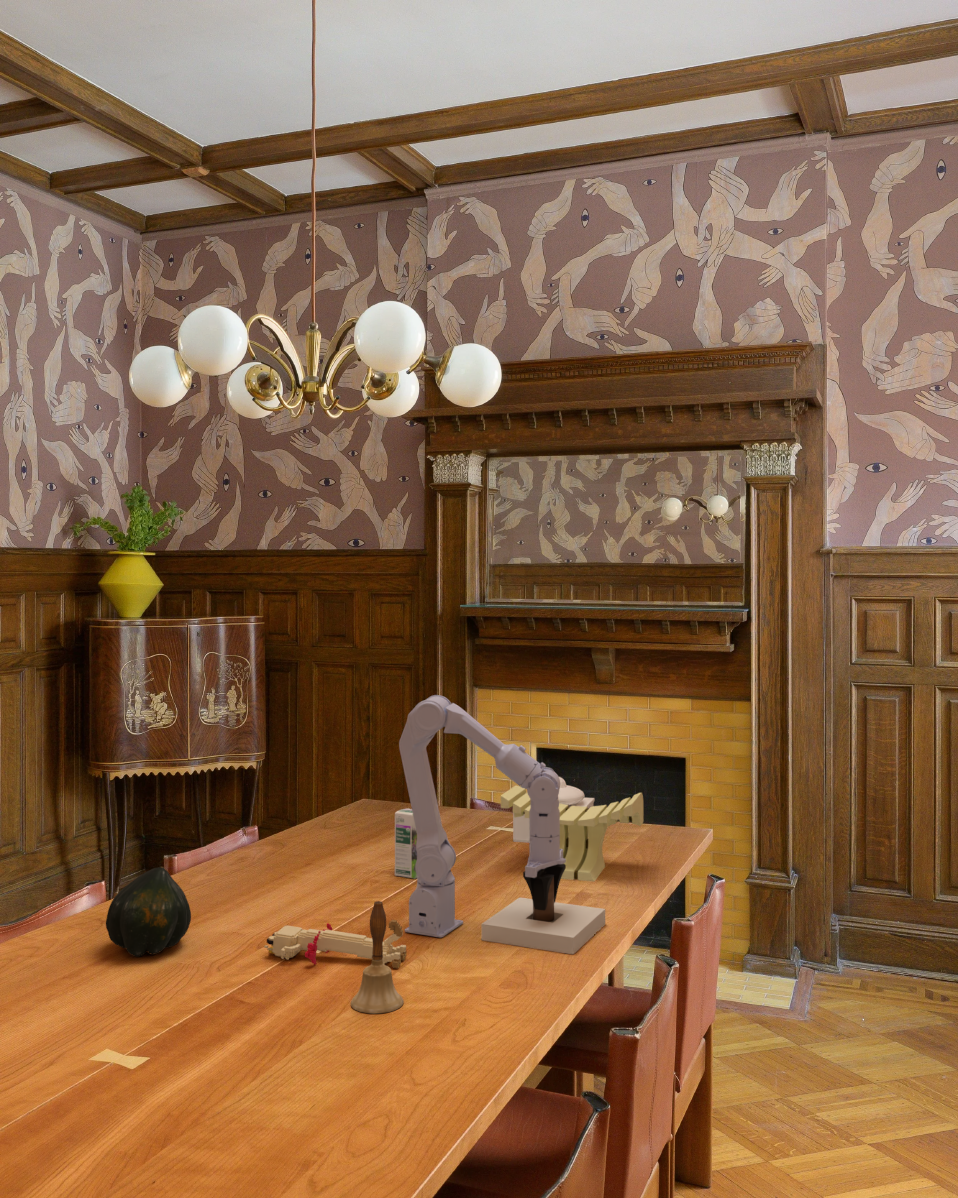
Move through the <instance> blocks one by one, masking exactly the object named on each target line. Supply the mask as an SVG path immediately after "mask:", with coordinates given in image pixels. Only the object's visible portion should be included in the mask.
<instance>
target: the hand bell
mask: <svg viewBox="0 0 958 1198" xmlns="http://www.w3.org/2000/svg"><path fill="white" fill-rule="evenodd" d="M369 917H370V918H369V933H370V935H371V938H372V940H373V952H372V954H373V955H372V959H371V964H370V965H368V966H366V967H365V968H364V969H363V971H362V977H361V984H360V987H359V989H358V992H357V993H356V994H355V995H354V996H353V997H352V998H351V1001H350V1006H351V1008H353V1010H355V1011H358V1012H360V1013H365V1014H376V1015H377V1014H385V1013H390V1012H395V1011H396V1010H399V1009H400V1008H401V1007H402V1006H403V1005H404V1003H405V1001H404V999H403V997H402V995H401V994H400V993H399V992H398V991H397V989H396V988H395V985H394V981H393V973H392V969H391V967H389V966H388V965H386V964H383V959H382V958H383V955H382V954H383V942H384V938H385V935H386V930H387V915H386V912H385V908H384V904H383V901H380V900H376V901H374V904H373V907H372V910H371V913H370V916H369Z"/></svg>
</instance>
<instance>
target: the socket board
mask: <svg viewBox="0 0 958 1198" xmlns="http://www.w3.org/2000/svg"><path fill="white" fill-rule="evenodd" d="M605 925H606V909H605V908H602V907H601V908H600V907H593V906H586V905H578V904H572V903H564V902H558V901H555V903H554V921H551V922H545V921H538V920H533V900H532V898H525V897H518V898H517V899H515V900H513V902H511V903H509V904H507V905H506V906H505V907H504V908H502V909H501V910H499V911H498V912H497V913H495V914H493V915H492V916H491V917H489V918H488V919H486V920H485V921H484V922H482V923H481V934H480V935H481V941H483V942H484V941H485V942H490V943H498V944H505V945H511V946H516V947H524V948H528V949H529V948H530V949H536V950H542V951H549V952H556V953H563V954H566V955H568V954H569V955H575V954H576V953H577V952H578V951H579V950H580V949H581V948H582V947H583V946H584V945H586V943H587V942H589V941H590V940H591V939H592V938H593V937H594V934H595V935H596V934H597V933H598V932H599V931H600V930H602V928H603V927H604V926H605ZM601 927H602V928H601ZM597 931H598V932H597ZM596 932H597V933H596Z"/></svg>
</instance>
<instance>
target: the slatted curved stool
mask: <svg viewBox="0 0 958 1198" xmlns="http://www.w3.org/2000/svg"><path fill="white" fill-rule="evenodd" d="M520 786H521V785H520ZM520 786H519V785H514V786H512V787H511V788H510V789H508V790H507V791H505V792H504V793H502V794H501V795H500V809H510V808H512V814H513V813H514V818H515V817H521V816H523V815H524V814H525V818H529V811H530V809H531V799H530V797H529V795H528V792H527V789H525V788H521V787H520ZM558 808H559V811H560V849H563V858H565V859H566V862H565V863H564V864H565V865H566V868H565V870H564V872H563V874H562V877H561V879H560V880H571V881H572V880H577V881H583V882H584V881H585V882H596V880H597V878H598V877H599V876H600V874H601V873H602V872H603V871H604V870H605V868H606V863H605V859H604V854H603V846H604V845H603V844H604V841H605V840H604V838H605V834H606V832H607V830H608V828H609V827H610V826H612V825H615V824H617V823H618V821H619V823H620V824H629V822H631V824H632V825H636V826H639V827H641V826H642V825H643V823H644V796H643V792H638V793H636V794H634V795H633V796H632V798H631V797H630V796H629V797H626V798H623V799H622V800H621V801H620V802H619V801H615V802H611V803H610V804H609V805H607V804H604V805H602V804H601V805H594V806H592V807H590V808H588V807H581V806H571V807H568V805H565V804H560V803H559V807H558Z"/></svg>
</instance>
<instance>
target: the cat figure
mask: <svg viewBox="0 0 958 1198" xmlns="http://www.w3.org/2000/svg"><path fill="white" fill-rule="evenodd" d="M326 928H327V929H322V930H321V929H314V928H313V929H312V928H309V929H303V928H302V927H299V926H294V925H288V924H287V925H284V926H283V927H281V929H279V930H278V931H275V932H273V933H272V934H271V935H270V936H269V937H268V938H267V939H266V943H267V944H268V945H266V944H265V945H264V946H263V947H264V949H267V951H268V953H269V954H274V956H275V957H280V958H281V959H282V960H284V959H286V960H289V959H291V958H294V957H295V956H296V955H297V954H299V953H300V951H302V950H303V951H305V953H304V957H305V958H307V959H308V960H310V962H311V963H312V964H313V966H316V965H317V964H318V962H317V959H316V958H317V952H318V951H320V952H325V954H328V953H329V952H330V951H331V952H336V953H345V954H349V955H356V956H357V957H358V958H364V959H369V960H372V955H373V954H372V952H373V940H372V937H367V935H363V934H358V933H351V932H346V931H345V932H344V931H337V930H333V926H332V924H331V923H329V922H327V923H326ZM402 928H403V927H402V925H401V924H400V922H398V920H396V919H391V920H390V921H388V929H389V930H390V931H392V932H393V933H392V934H391V935H390V936H388V937H387V938H386V939H384V940H383V954H382V955H383V958H382V959H383V964H384V965H386V964H388V963H389V962H390V963H391V964H392V965H391V967H392V968H393V969H397V970H398V969H399V968H400V965H401V963H402V962H405V960H406V957H407V953H408V952H407V945H406V944H401V945H397V946H396V947H395V946H394V944H393V942H397V941H399V939H400V938H402V937H403V935H404V930H403V929H402ZM269 945H270V947H269Z"/></svg>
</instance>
